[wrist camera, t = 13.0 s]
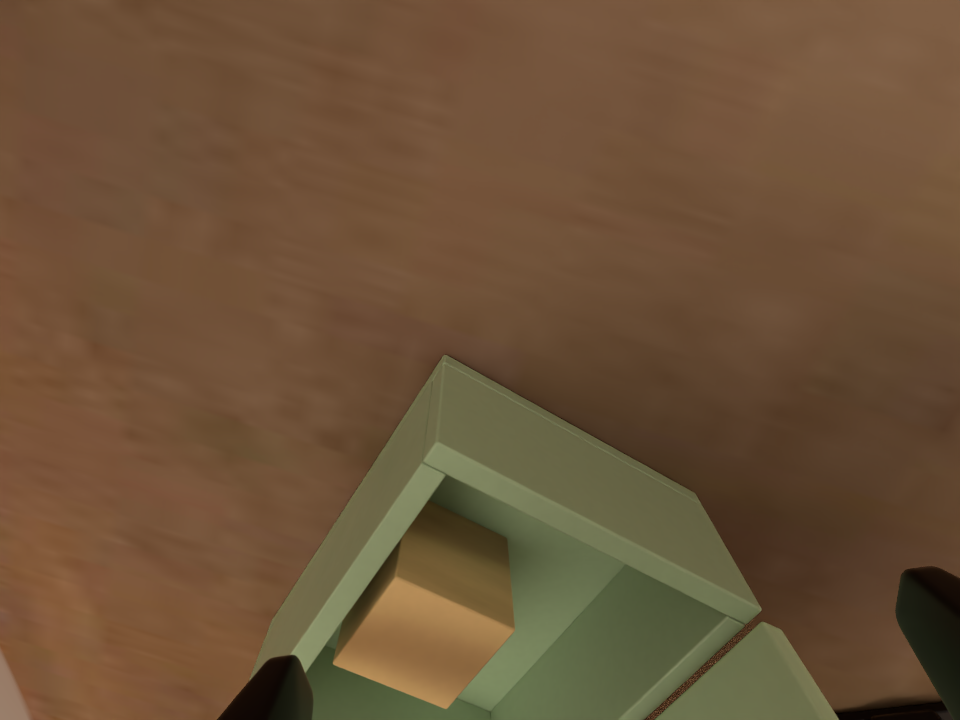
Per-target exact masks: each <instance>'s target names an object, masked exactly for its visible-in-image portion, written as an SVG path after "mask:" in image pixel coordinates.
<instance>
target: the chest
mask: <svg viewBox="0 0 960 720" xmlns="http://www.w3.org/2000/svg"><path fill="white" fill-rule="evenodd" d="M428 500H430V501H432V502H434V503H436V504H438V505H440V506H442V507H444V508H446V509H448V510H450V511H452V512H454V513H456V514H459V515H461V516H463V517H465V518H467V519H469V520H471V521H473V522H475V523H477V524H479V525H481V526H483V527H485V528H487V529H489V530H491V531H494V532H496V533H498V534H500V535H502V536H504V537H506V538H507V541H508V552H509V563H510V575H511V586H512V598H513V609H514V620H515V631H514V633H513V634H512V635H511V636H510V637H509V638H508V640H507V641H506V642H505V643H504V644H503V645H502V646H501V648H500V649H499V650H498V651H497V652H496V653H495V655H494V656H493V657H492V658H491V659H490V660H489V661H488V663H487V664H486V665H485V666H484V667H483V668H482V669H481V671H480V672H479V673H478V674H477V675H476V676H475V677H474V679H473V680H472V681H471V682H470V683H469V684H468V685H467V687H466V688H465V689H464V690H463V691H462V692H461V693H460V695H459V696H458V697H457V698H456V699H455V700H454V701H453V703H452V704H451V705H450V706H449V707H448V708H447V709H444V708H441V707H439V706H436V705H434V704H431V703H429V702H426V701H424V700H421V699H419V698H416V697H414V696H411V695H409V694H406V693H404V692H401V691H398V690H396V689H393V688H391V687H388V686H386V685H383V684H381V683H378V682H376V681H373V680H371V679H368V678H366V677H363V676H361V675H358V674H356V673H353V672H350V671H348V670H345V669H343V668H340V667H338V666H335V665H333V659H334V655H335V650H336V646H337V642H338V638H339V634H340V630H341V626H342V621H343V619H344V618H345V617H346V615H347V614H348V612H349V611H350V610H351V608H352V607H353V605H354V604H355V603H356V601H357V600H358V598H359V597H360V596H361V594H362V593H363V591H364V590H365V589H366V587H367V586H368V584H369V583H370V582H371V580H372V579H373V577H374V576H375V574H376V573H377V572H378V570H379V569H380V567H381V566H382V565H383V563H384V562H385V560H386V559H387V558H388V556H389V555H390V553H391V552H392V551H393V549H394V548H395V546H396V545H397V544H398V542H399V541H400V539H401V538H402V537H403V535H404V534H405V532H406V531H407V530H408V528H409V527H410V525H411V524H412V522H413V521H414V520H415V518H416V517H417V515H418V514H419V513H420V511H421V510H422V508H423V507H424V506H425V504H426V503H427V501H428ZM760 612H761V607H760V605H759V603H758V602H757V600H756V598H755V596H754V595H753V593H752V591H751V590H750V588H749V586H748V584H747V583H746V581H745V579H744V577H743V576H742V574H741V572H740V570H739V569H738V567H737V565H736V563H735V562H734V560H733V558H732V556H731V555H730V553H729V551H728V550H727V548H726V546H725V544H724V543H723V541H722V539H721V537H720V536H719V534H718V532H717V530H716V529H715V527H714V525H713V523H712V522H711V520H710V518H709V516H708V515H707V513H706V511H705V510H704V508H703V506H702V505H701V503H700V501H699V499H698V497H697V496H696V494H695V493H694V492H692V491H690V490H688V489H687V488H685V487H683V486H681V485H679V484H678V483H676V482H674V481H672V480H670V479H669V478H667V477H665V476H663V475H661V474H660V473H658V472H656V471H654V470H652V469H651V468H649V467H647V466H645V465H643V464H642V463H640V462H638V461H636V460H634V459H633V458H631V457H629V456H627V455H625V454H624V453H622V452H620V451H618V450H616V449H615V448H613V447H611V446H609V445H607V444H606V443H604V442H602V441H600V440H598V439H597V438H595V437H593V436H591V435H589V434H588V433H586V432H584V431H582V430H580V429H579V428H577V427H575V426H573V425H571V424H570V423H568V422H566V421H564V420H562V419H561V418H559V417H557V416H555V415H553V414H552V413H550V412H548V411H546V410H544V409H543V408H541V407H539V406H537V405H535V404H534V403H532V402H530V401H528V400H526V399H525V398H523V397H521V396H519V395H517V394H516V393H514V392H512V391H510V390H508V389H507V388H505V387H503V386H501V385H499V384H498V383H496V382H494V381H492V380H490V379H489V378H487V377H485V376H483V375H481V374H480V373H478V372H476V371H474V370H472V369H471V368H469V367H467V366H465V365H463V364H462V363H460V362H458V361H456V360H454V359H453V358H451V357H449V356H447V355H444V356H443V357H442V358H441V360H440V362H439V363H438V365H437V366H436V368H435V369H434V371H433V372H432V374H431V375H430V377H429V379H428V380H427V382H426V383H425V385H424V386H423V388H422V389H421V391H420V392H419V394H418V396H417V397H416V399H415V400H414V402H413V403H412V405H411V406H410V408H409V409H408V411H407V413H406V414H405V416H404V417H403V419H402V420H401V422H400V423H399V425H398V426H397V428H396V429H395V431H394V433H393V434H392V436H391V437H390V439H389V440H388V442H387V443H386V445H385V446H384V448H383V450H382V451H381V453H380V454H379V456H378V457H377V459H376V460H375V462H374V463H373V465H372V467H371V468H370V470H369V471H368V473H367V474H366V476H365V477H364V479H363V480H362V482H361V484H360V485H359V487H358V488H357V490H356V491H355V493H354V494H353V496H352V497H351V499H350V501H349V502H348V504H347V505H346V507H345V508H344V510H343V511H342V513H341V514H340V516H339V518H338V519H337V521H336V522H335V524H334V525H333V527H332V528H331V530H330V531H329V533H328V535H327V536H326V538H325V539H324V541H323V542H322V544H321V545H320V547H319V548H318V550H317V552H316V553H315V555H314V556H313V558H312V559H311V561H310V562H309V564H308V565H307V567H306V568H305V570H304V572H303V573H302V575H301V576H300V578H299V579H298V581H297V582H296V584H295V585H294V587H293V589H292V590H291V592H290V593H289V595H288V596H287V598H286V599H285V601H284V602H283V604H282V606H281V607H280V609H279V610H278V612H277V613H276V615H275V616H274V618H273V619H272V621H271V624H270V627H269V629H268V632H267V635H266V637H265V639H264V642H263V645H262V647H261V650H260V653H259V655H258V658H257V661H256V663H255V666H254V669H253V671H252V674H251V676H250V679H249V681H250V680H251V678H252V677H253V676H254V675H255V674H256V673H257V671H258V670H259V669H260V668H261V667H262V665H263V664H264V663H265V662H266V661H267V660H269V659H270V658H273V657H278V656H285V655H296V656H297V657H298V658H299V660H300V662H301V664H302V666H303V669H304V671H305V674H306V676H307V678H308V681H309V683H310V686H311V688H312V692H313V699H314V705H313V715H312V720H644V719H646V718H647V717H648V716H649V715H650V714H651V713H652V712H653V711H654V710H655V709H656V708H657V707H659V706H660V705H661V704H662V703H663V702H664V701H665V700H666V699H667V698H668V697H669V696H670V695H671V694H673V693H674V692H675V691H676V690H677V689H678V688H679V687H680V686H681V685H682V684H683V683H684V682H686V681H687V680H688V679H689V678H690V677H691V676H692V675H693V674H694V673H695V672H696V671H697V670H698V669H700V668H701V667H702V666H703V665H704V664H705V663H706V662H707V661H708V660H709V659H710V658H711V657H712V656H714V655H715V654H716V653H717V652H718V651H719V650H720V649H721V648H722V647H723V646H724V645H725V644H727V643H728V642H729V641H730V640H731V639H732V638H733V637H734V636H735V635H736V634H737V633H738V632H739V631H741V630H742V629H743V628H744V626H745V625H744V624H748V623H749V622H750V621H751V620H752V619H753V618H754V617H755V616H756V615H757V614H759V613H760Z"/></svg>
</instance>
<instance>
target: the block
mask: <svg viewBox="0 0 960 720" xmlns="http://www.w3.org/2000/svg"><path fill="white" fill-rule="evenodd" d="M514 631H515V620H514V609H513V598H512V586H511V575H510V563H509V552H508V541H507V538H506V537H504V536H502V535H500V534H498V533H496V532H494V531H491V530H489V529H487V528H485V527H483V526H481V525H479V524H477V523H475V522H473V521H471V520H469V519H467V518H465V517H463V516H461V515H459V514H456V513H454V512H452V511H450V510H448V509H446V508H444V507H442V506H440V505H438V504H436V503H434V502H432V501H430V500H428V501H427V503H426V504H425V506H424V507H423V508H422V510H421V511H420V513H419V514H418V515H417V517H416V518H415V520H414V521H413V522H412V524H411V525H410V527H409V528H408V530H407V531H406V532H405V534H404V535H403V537H402V538H401V539H400V541H399V542H398V544H397V545H396V546H395V548H394V549H393V551H392V552H391V553H390V555H389V556H388V558H387V559H386V560H385V562H384V563H383V565H382V566H381V567H380V569H379V570H378V572H377V573H376V574H375V576H374V577H373V579H372V580H371V582H370V583H369V584H368V586H367V587H366V589H365V590H364V591H363V593H362V594H361V596H360V597H359V598H358V600H357V601H356V603H355V604H354V605H353V607H352V608H351V610H350V611H349V612H348V614H347V615H346V617H345V618H344V619H343V621H342V626H341V630H340V634H339V638H338V642H337V646H336V650H335V655H334V659H333V665H335V666H338V667H340V668H343V669H345V670H348V671H350V672H353V673H356V674H358V675H361V676H363V677H366V678H368V679H371V680H373V681H376V682H378V683H381V684H383V685H386V686H388V687H391V688H393V689H396V690H398V691H401V692H404V693H406V694H409V695H411V696H414V697H416V698H419V699H421V700H424V701H426V702H429V703H431V704H434V705H436V706H439V707H441V708H444V709H447V708H448V707H449V706H450V705H451V704H452V703H453V701H454V700H455V699H456V698H457V697H458V696H459V695H460V693H461V692H462V691H463V690H464V689H465V688H466V687H467V685H468V684H469V683H470V682H471V681H472V680H473V679H474V677H475V676H476V675H477V674H478V673H479V672H480V671H481V669H482V668H483V667H484V666H485V665H486V664H487V663H488V661H489V660H490V659H491V658H492V657H493V656H494V655H495V653H496V652H497V651H498V650H499V649H500V648H501V646H502V645H503V644H504V643H505V642H506V641H507V640H508V638H509V637H510V636H511V635H512V634H513V633H514Z"/></svg>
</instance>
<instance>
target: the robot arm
mask: <svg viewBox="0 0 960 720" xmlns="http://www.w3.org/2000/svg"><path fill="white" fill-rule="evenodd" d="M895 611H896V618H897V621H898V624H899V626H900V628H901V630H902V632H903V634H904V635H905V637H906V639H907V641H908V642H909V644H910V646H911V647H912V649H913V651H914V653H915V654H916V656H917V658H918V660H919V661H920V663H921V665H922V666H923V668H924V670H925V672H926V673H927V675H928V677H929V679H930V680H931V682H932V684H933V685H934V687H935V689H936V691H937V692H938V694H939V696H940V697H941V699H942V701H943V703H934V704H925V705H916V706H906V707H897V708H888V709H879V710H870V711H861V712H852V713H843V714H836V716H837V717H838V719H839V720H960V578H958V577H956V576H954V575H952V574H950V573H948V572H947V571H945V570H943V569H940V568H938V567H934V566H927V567H919V568H912V569H907V570H905V571H904V572H903V573H902V574H901V578H900V584H899V590H898V596H897V602H896V610H895ZM313 705H314V699H313V692H312V688H311V686H310V683H309V681H308V678H307V676H306V674H305V671H304V669H303V666H302V664H301V662H300V660H299V658H298V657H297V656H296V655H285V656H278V657H273V658H270V659H269V660H267V661H266V662H265V663H264V664H263V665H262V667H261V668H260V669H259V670H258V671H257V673H256V674H255V675H254V676H253V677H252V678H251V680H250V681H249V682H248V683H247V684H246V686H245V687H244V688H243V689H242V690H241V692H240V693H239V694H238V695H237V696H236V698H235V699H234V700H233V701H232V702H231V704H230V705H229V706H228V707H227V708H226V710H225V711H224V712H223V713H222V714H221V716H220V717H219V718H218V719H217V720H312V715H313Z"/></svg>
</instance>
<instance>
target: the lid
mask: <svg viewBox="0 0 960 720" xmlns="http://www.w3.org/2000/svg"><path fill="white" fill-rule="evenodd" d="M655 720H839V719H838V717H837V716H836V714H835V712H834V711H833V709H832V708H831V706H830V705H829V703H828V702H827V700H826V698H825V697H824V695H823V694H822V692H821V691H820V689H819V688H818V686H817V684H816V683H815V681H814V680H813V678H812V677H811V675H810V673H809V672H808V670H807V669H806V667H805V666H804V664H803V663H802V661H801V659H800V658H799V656H798V655H797V653H796V652H795V650H794V649H793V647H792V645H791V644H790V642H789V641H788V639H787V638H786V636H785V635H784V633H783V631H782V630H781V629H779V628H777V627H774V626H772V625H770V624H768V623H765V622H760V623H759V624H758V625H757V626H756V627H755V628H754V629H753V630H752V631H750V632H749V633H748V634H747V635H746V636H745V637H744V638H743V639H742V640H741V641H740V642H738V643H737V644H736V645H735V646H734V647H733V648H732V649H731V650H730V651H729V652H728V653H726V654H725V655H724V656H723V657H722V658H721V659H720V660H719V661H718V662H717V663H716V664H714V665H713V666H712V667H711V668H710V669H709V670H708V671H707V672H706V673H705V674H704V675H702V676H701V677H700V678H699V679H698V680H697V681H696V682H695V683H694V684H693V685H692V686H690V687H689V688H688V689H687V690H686V691H685V692H684V693H683V694H682V695H681V696H680V697H679V698H677V699H676V700H675V701H674V702H673V703H672V704H671V705H670V706H669V707H668V708H667V709H665V710H664V711H663V712H662V713H661V714H660V715H659V716H658V717H657V718H656V719H655Z"/></svg>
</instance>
